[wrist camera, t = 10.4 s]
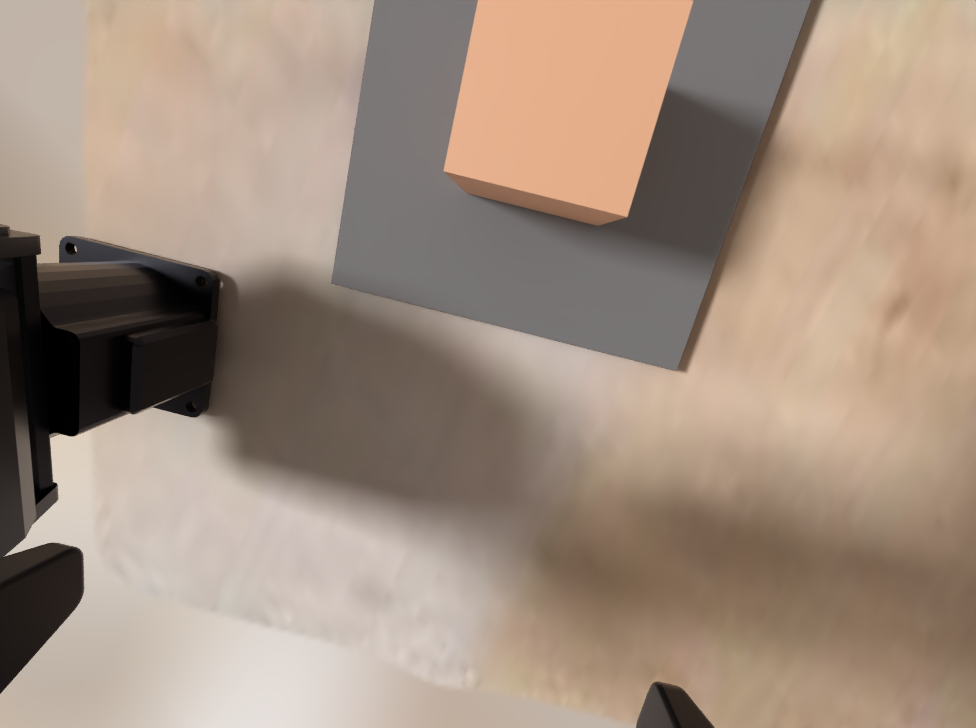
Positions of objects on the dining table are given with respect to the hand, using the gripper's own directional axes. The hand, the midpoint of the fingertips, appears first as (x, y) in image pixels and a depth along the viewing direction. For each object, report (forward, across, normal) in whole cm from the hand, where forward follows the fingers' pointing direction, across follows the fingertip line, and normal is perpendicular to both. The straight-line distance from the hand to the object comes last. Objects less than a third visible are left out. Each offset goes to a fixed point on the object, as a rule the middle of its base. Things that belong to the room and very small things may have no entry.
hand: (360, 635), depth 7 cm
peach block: (+12, -1, -10) cm, 16 cm away
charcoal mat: (+13, -1, -10) cm, 16 cm away
